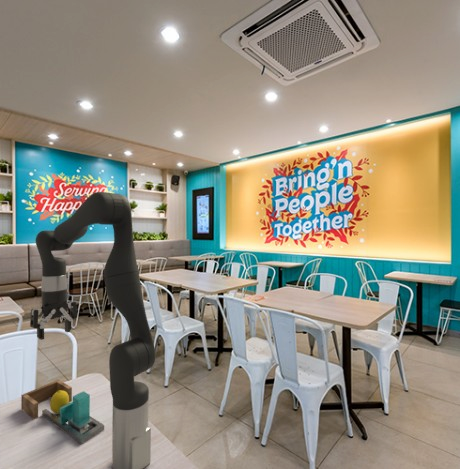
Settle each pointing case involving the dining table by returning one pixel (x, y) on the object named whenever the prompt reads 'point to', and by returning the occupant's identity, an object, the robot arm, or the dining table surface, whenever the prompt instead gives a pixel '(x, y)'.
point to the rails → (71, 431)
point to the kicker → (77, 413)
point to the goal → (42, 396)
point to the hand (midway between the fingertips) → (55, 335)
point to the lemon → (59, 401)
